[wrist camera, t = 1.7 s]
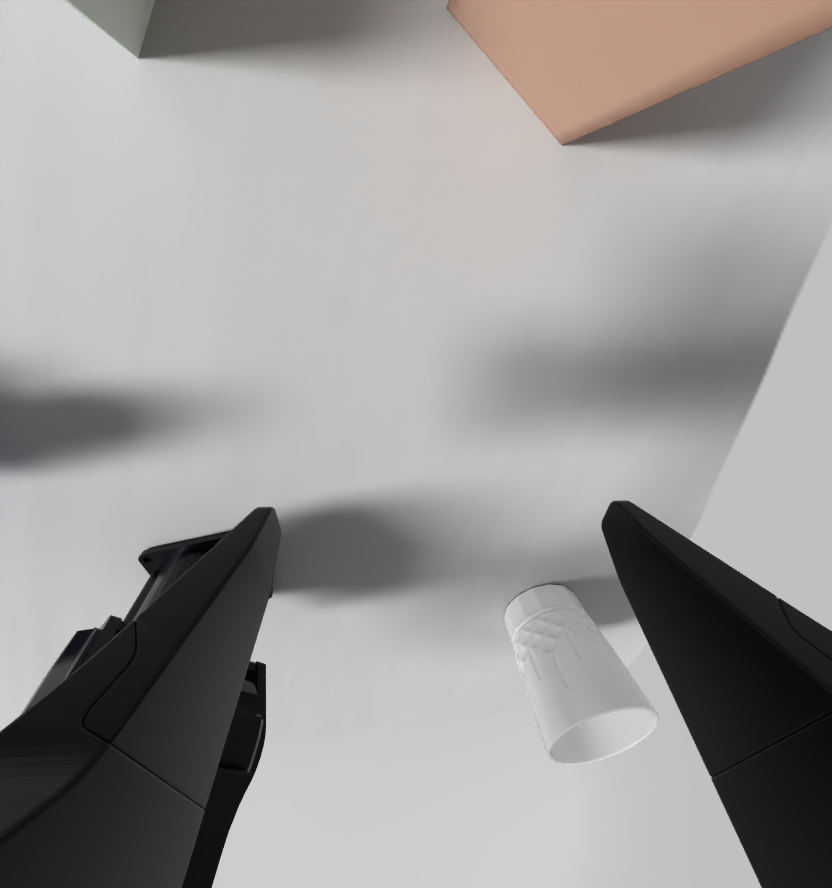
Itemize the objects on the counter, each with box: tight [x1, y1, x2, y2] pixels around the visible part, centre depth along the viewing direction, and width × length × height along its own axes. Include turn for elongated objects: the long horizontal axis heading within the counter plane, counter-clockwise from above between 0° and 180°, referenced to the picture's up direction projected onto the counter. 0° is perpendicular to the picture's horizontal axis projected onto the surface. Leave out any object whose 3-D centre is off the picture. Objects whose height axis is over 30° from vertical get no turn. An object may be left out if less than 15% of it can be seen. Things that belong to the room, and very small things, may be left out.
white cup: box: [504, 584, 659, 765], centre depth 29 cm, size 8×8×10 cm
